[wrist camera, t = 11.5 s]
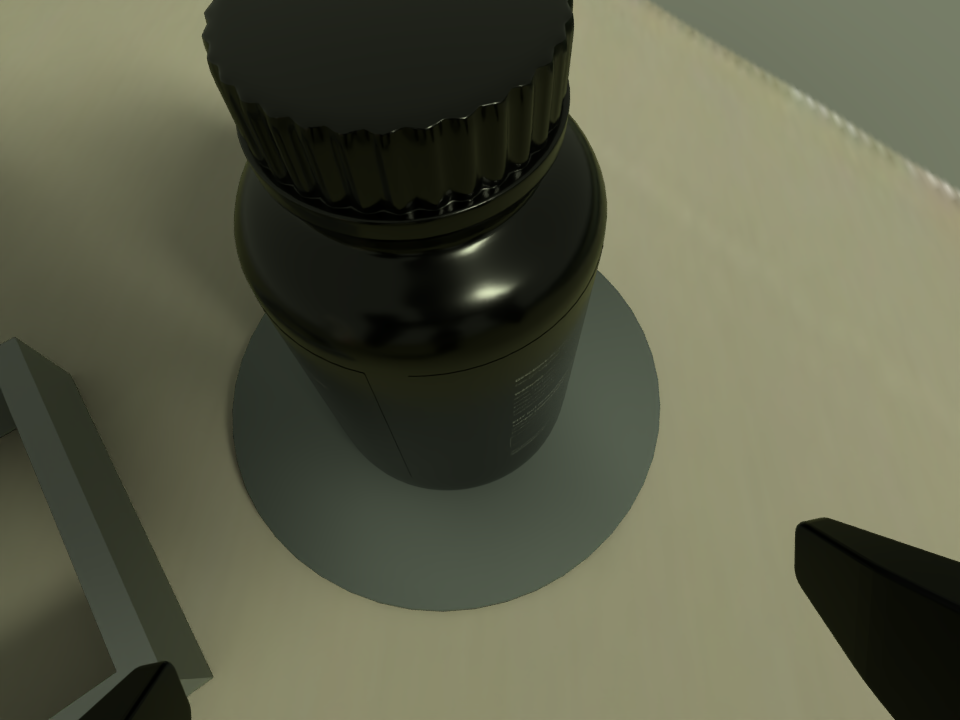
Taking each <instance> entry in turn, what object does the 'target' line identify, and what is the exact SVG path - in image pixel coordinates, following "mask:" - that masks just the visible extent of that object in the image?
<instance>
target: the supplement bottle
mask: <svg viewBox="0 0 960 720" xmlns="http://www.w3.org/2000/svg"><path fill="white" fill-rule="evenodd" d="M572 12H573V0H213V1H212V3H211V4H210V5H209V7H208V8H207V9H206V11H205V12H204V15H205V19H206V23H207V25H206V27H205V29H204V32H203V34H202V39H203V43H204V46H205V49H206V52H207V61H208V65H209V68H210V72H211V74H212V76H213V78H214V81H215V83H216V85H217V87H218V89H219V91H220V93H221V95H222V97H223V99H224V101H225V103H226V105H227V107H228V109H229V112H230V114H231V116H232V118H233V120H234V122H235V124H236V128H237V134H238V138H239V141H240V144H241V147H242V149H243V152H244V154H245V156H246V158H247V162H246V164H245V167H244V170H243V172H242V175H241V178H240V182H239V186H238V191H237V195H236V202H235V211H234V235H235V242H236V249H237V253H238V257H239V260H240V264H241V267H242V270H243V272H244V274H245V277H246V279H247V281H248V283H249V285H250V287H251V289H252V291H253V292H254V294H255V296H256V298H257V300H258V301H259V303H260V305H261V306H262V308H263V310H264V311H265V313H266V314H267V316H268V317H269V319H270V320H271V322H272V323H273V325H274V326H275V328H276V329H277V331H278V332H279V334H280V335H281V337H282V338H283V340H284V341H285V343H286V344H287V346H288V347H289V349H290V350H291V352H292V353H293V355H294V356H295V358H296V359H297V361H298V362H299V364H300V365H301V367H302V368H303V370H304V371H305V373H306V374H307V376H308V377H309V379H310V380H311V382H312V383H313V385H314V386H315V388H316V389H317V391H318V392H319V394H320V395H321V397H322V398H323V400H324V401H325V403H326V404H327V406H328V407H329V409H330V410H331V412H332V413H333V415H334V416H335V418H336V419H337V421H338V422H339V424H340V425H341V427H342V428H343V430H344V431H345V433H346V434H347V435H348V437H349V438H350V439H351V441H352V442H353V443H354V445H355V446H356V447H357V449H358V450H359V451H360V452H361V453H362V454H363V455H364V456H365V457H366V458H367V459H368V460H369V461H370V462H371V463H372V464H373V465H375V466H376V467H377V468H378V469H380V470H381V471H383V472H384V473H386V474H387V475H389V476H391V477H393V478H395V479H397V480H399V481H402V482H404V483H406V484H409V485H413V486H416V487H420V488H425V489H431V490H442V491H443V490H463V489H469V488H474V487H479V486H482V485H485V484H488V483H491V482H494V481H496V480H498V479H501V478H503V477H504V476H506V475H508V474H510V473H512V472H513V471H515V470H516V469H518V468H519V467H521V466H522V465H523V464H524V463H525V462H527V461H528V460H529V459H530V458H531V457H532V456H533V455H534V454H535V453H536V452H537V451H538V450H539V449H540V447H541V446H542V445H543V444H544V442H545V441H546V439H547V438H548V436H549V435H550V433H551V431H552V429H553V427H554V425H555V423H556V421H557V419H558V416H559V414H560V411H561V408H562V404H563V401H564V398H565V394H566V390H567V386H568V382H569V379H570V375H571V371H572V367H573V363H574V359H575V355H576V351H577V347H578V343H579V339H580V335H581V332H582V328H583V324H584V320H585V316H586V312H587V308H588V304H589V300H590V296H591V292H592V288H593V284H594V281H595V277H596V273H597V269H598V265H599V261H600V257H601V253H602V249H603V242H604V236H605V229H606V221H607V198H606V190H605V183H604V180H603V176H602V172H601V169H600V166H599V163H598V161H597V158H596V156H595V153H594V151H593V149H592V147H591V145H590V143H589V141H588V140H587V138H586V136H585V134H584V133H583V131H582V130H581V129H580V127H579V126H578V124H577V123H576V121H575V120H574V119H573V118H572V117H571V116H570V114H569V106H570V87H569V80H568V76H569V67H570V59H571V51H572V42H573V33H574V18H573V13H572Z"/></svg>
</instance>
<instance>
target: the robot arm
mask: <svg viewBox="0 0 960 720" xmlns="http://www.w3.org/2000/svg"><path fill="white" fill-rule="evenodd" d="M794 568H795V574H796V578H797V580H798V583H799V585H800V586H801V588H802V590H803V591H804V593H805V594H806V596H807V597H808V599H809V600H810V602H811V603H812V605H813V606H814V608H815V609H816V611H817V612H818V614H819V615H820V617H821V618H822V620H823V621H824V623H825V624H826V626H827V627H828V628H829V630H830V631H831V633H832V634H833V636H834V637H835V639H836V640H837V642H838V643H839V645H840V646H841V648H842V649H843V651H844V652H845V654H846V655H847V657H848V658H849V660H850V661H851V663H852V664H853V666H854V667H855V669H856V670H857V672H858V673H859V674H860V676H861V677H862V679H863V680H864V681H865V683H866V684H867V685H868V687H869V688H870V689H871V690H872V692H873V693H874V694H875V696H876V697H877V698H878V699H879V701H880V702H881V703H882V704H883V706H884V707H885V708H886V709H887V711H888V712H889V713H890V714H891V716H892V717H893V718H894V719H895V720H960V562H958V561H955V560H952V559H949V558H946V557H943V556H940V555H937V554H934V553H931V552H928V551H925V550H922V549H919V548H916V547H913V546H910V545H907V544H904V543H901V542H898V541H895V540H892V539H890V538H887V537H884V536H881V535H878V534H875V533H872V532H869V531H866V530H863V529H860V528H857V527H854V526H851V525H848V524H845V523H842V522H839V521H836V520H833V519H830V518H825V517H824V518H817V519H813V520H808V521H803V522H801V523H799V524H798V525H797V527H796V531H795V564H794ZM78 720H191V708H190V704H189V701H188V699H187V696H186V694H185V691H184V689H183V686H182V684H181V681H180V679H179V676H178V673H177V671H176V669H175V667H174V665H173V664H172V663H171V662H169V661H160V662H156V663H151V664H146V665H142V666H139V667H137V668H135V669H134V670H133V671H131V672H130V673H129V674H128V675H127V676H126V677H125V678H124V679H123V680H121V681H120V682H119V683H118V684H117V685H116V686H115V687H114V688H113V689H112V690H110V691H109V692H108V693H107V694H106V695H105V696H104V697H103V698H102V699H101V700H99V701H98V702H97V703H96V704H95V705H94V706H93V707H92V708H91V709H89V710H88V711H87V712H86V713H85V714H84V715H83V716H82V717H81V718H80V719H78Z"/></svg>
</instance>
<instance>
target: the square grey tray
mask: <svg viewBox="0 0 960 720" xmlns="http://www.w3.org/2000/svg"><path fill="white" fill-rule="evenodd" d="M16 428H17V429H18V432H19V434H20V437H21V439H22V442H23V444H24V446H25V449H26V451H27V454H28V456H29V459H30V461H31V464H32V466H33V468H34V471H35V473H36V476H37V478H38V481H39V483H40V486H41V488H42V491H43V493H44V495H45V498H46V500H47V503H48V505H49V508H50V510H51V513H52V515H53V517H54V520H55V522H56V525H57V527H58V530H59V532H60V535H61V537H62V539H63V542H64V544H65V547H66V549H67V552H68V554H69V557H70V559H71V561H72V564H73V566H74V569H75V571H76V574H77V576H78V579H79V581H80V583H81V586H82V588H83V591H84V593H85V596H86V598H87V601H88V603H89V605H90V608H91V610H92V613H93V615H94V618H95V620H96V623H97V625H98V627H99V630H100V632H101V635H102V637H103V640H104V642H105V645H106V647H107V649H108V652H109V654H110V657H111V659H112V662H113V664H114V667H115V669H116V671H117V672H116V673H114V674H113V675H111V676H110V677H108V678H107V679H106V680H104V681H103V682H101V683H100V684H98V685H97V686H96V687H94V688H93V689H91V690H90V691H88V692H87V693H86V694H84V695H83V696H81V697H80V698H78V699H77V700H76V701H74V702H73V703H71V704H70V705H68V706H67V707H65V708H64V709H63V710H61V711H60V712H58V713H57V714H55V715H54V716H53V717H51V718H50V719H48V720H78V719H80V718H81V717H82V716H83V715H84V714H85V713H86V712H87V711H88V710H89V709H91V708H92V707H93V706H94V705H95V704H96V703H97V702H98V701H99V700H101V699H102V698H103V697H104V696H105V695H106V694H107V693H108V692H109V691H110V690H112V689H113V688H114V687H115V686H116V685H117V684H118V683H119V682H120V681H121V680H123V679H124V678H125V677H126V676H127V675H128V674H129V673H130V672H131V671H133V670H134V669H135V668H137V667H139V666H142V665H146V664H151V663H156V662H160V661H169V662H171V663H172V664H173V665H174V667H175V669H176V671H177V673H178V676H179V679H180V681H181V684H182V686H183V689H184V691H185V694H186V696H189V695H190V694H191V693H193V692H194V691H195V690H197V689H198V688H200V687H201V686H202V685H204V684H205V683H206V682H208V681H209V680H210V679H212V678H213V675H212V673H211V671H210V669H209V667H208V665H207V663H206V661H205V658H204V656H203V654H202V652H201V650H200V648H199V646H198V644H197V642H196V639H195V637H194V635H193V633H192V631H191V629H190V627H189V625H188V622H187V620H186V618H185V616H184V614H183V612H182V610H181V608H180V606H179V603H178V601H177V599H176V597H175V595H174V593H173V591H172V589H171V587H170V584H169V582H168V580H167V578H166V576H165V574H164V572H163V570H162V568H161V565H160V563H159V561H158V559H157V557H156V555H155V553H154V551H153V548H152V546H151V544H150V542H149V540H148V538H147V536H146V534H145V532H144V529H143V527H142V525H141V523H140V521H139V519H138V517H137V515H136V513H135V510H134V508H133V506H132V504H131V502H130V500H129V498H128V496H127V493H126V491H125V489H124V487H123V485H122V483H121V481H120V479H119V477H118V474H117V472H116V470H115V468H114V466H113V464H112V462H111V460H110V458H109V455H108V453H107V451H106V449H105V447H104V445H103V443H102V441H101V439H100V436H99V434H98V432H97V430H96V428H95V426H94V424H93V422H92V419H91V417H90V415H89V413H88V411H87V409H86V407H85V405H84V403H83V400H82V398H81V396H80V394H79V392H78V390H77V388H76V386H75V384H74V381H73V379H72V377H71V375H70V374H69V373H67V372H66V371H64V370H63V369H61V368H60V367H58V366H57V365H55V364H54V363H52V362H51V361H50V360H48V359H47V358H45V357H44V356H42V355H41V354H39V353H38V352H36V351H35V350H33V349H32V348H30V347H29V346H28V345H26V344H25V343H23V342H22V341H20V340H19V339H17V338H16V337H13V338H12V339H10V340H8V341H6V342H4V343H2V344H0V437H2V436H4V435H5V434H7V433H9V432H11V431H13V430H14V429H16Z"/></svg>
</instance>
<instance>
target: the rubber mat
mask: <svg viewBox="0 0 960 720" xmlns="http://www.w3.org/2000/svg"><path fill="white" fill-rule="evenodd" d="M659 415H660V398H659V387H658V378H657V373H656V369H655V365H654V360H653V356H652V353H651V350H650V348H649V345H648V342H647V340H646V337H645V334H644V332H643V330H642V328H641V326H640V324H639V323H638V321H637V319H636V317H635V315H634V313H633V312H632V310H631V308H630V307H629V306H628V304H627V303H626V302H625V300H624V299H623V297H622V296H621V295H620V293H619V292H618V291H617V290H616V289H615V287H614V286H613V285H612V284H611V283H610V282H609V281H608V280H607V279H606V278H605V277H604V276H603V275H602V274H601V273H600V272H599V271H598V270H597V273H596V277H595V281H594V284H593V288H592V292H591V296H590V300H589V304H588V308H587V312H586V316H585V320H584V324H583V328H582V332H581V335H580V339H579V343H578V347H577V351H576V355H575V359H574V363H573V367H572V371H571V375H570V379H569V382H568V386H567V390H566V394H565V398H564V401H563V404H562V408H561V411H560V414H559V416H558V419H557V421H556V423H555V425H554V427H553V429H552V431H551V433H550V435H549V436H548V438H547V439H546V441H545V442H544V444H543V445H542V446H541V447H540V449H539V450H538V451H537V452H536V453H535V454H534V455H533V456H532V457H531V458H530V459H529V460H528V461H527V462H525V463H524V464H523V465H522V466H521V467H519V468H518V469H516V470H515V471H513V472H512V473H510V474H508V475H506V476H504V477H503V478H501V479H498V480H496V481H494V482H491V483H488V484H485V485H482V486H479V487H474V488H469V489H463V490H443V491H442V490H431V489H425V488H420V487H416V486H413V485H409V484H406V483H404V482H402V481H399V480H397V479H395V478H393V477H391V476H389V475H387V474H386V473H384V472H383V471H381V470H380V469H378V468H377V467H376V466H375V465H373V464H372V463H371V462H370V461H369V460H368V459H367V458H366V457H365V456H364V455H363V454H362V453H361V452H360V451H359V450H358V449H357V447H356V446H355V445H354V443H353V442H352V441H351V439H350V438H349V437H348V435H347V434H346V433H345V431H344V430H343V428H342V427H341V425H340V424H339V422H338V421H337V419H336V418H335V416H334V415H333V413H332V412H331V410H330V409H329V407H328V406H327V404H326V403H325V401H324V400H323V398H322V397H321V395H320V394H319V392H318V391H317V389H316V388H315V386H314V385H313V383H312V382H311V380H310V379H309V377H308V376H307V374H306V373H305V371H304V370H303V368H302V367H301V365H300V364H299V362H298V361H297V359H296V358H295V356H294V355H293V353H292V352H291V350H290V349H289V347H288V346H287V344H286V343H285V341H284V340H283V338H282V337H281V335H280V334H279V332H278V331H277V329H276V328H275V326H274V325H273V323H272V322H271V320H270V319H269V317H268V316H267V314H266V313H265V314H264V316H263V318H262V319H261V321H260V323H259V325H258V326H257V328H256V330H255V332H254V333H253V335H252V337H251V340H250V342H249V344H248V347H247V349H246V352H245V354H244V357H243V359H242V362H241V366H240V370H239V374H238V377H237V381H236V386H235V394H234V402H233V438H234V444H235V450H236V456H237V462H238V465H239V468H240V471H241V474H242V477H243V480H244V483H245V486H246V489H247V491H248V493H249V495H250V497H251V499H252V501H253V503H254V505H255V507H256V509H257V511H258V513H259V514H260V516H261V517H262V518H263V520H264V521H265V523H266V524H267V525H268V527H269V528H270V530H271V531H272V532H273V534H274V535H275V537H276V538H277V539H278V540H279V541H280V542H281V543H282V544H283V545H284V546H285V547H286V548H287V549H288V550H289V551H290V552H291V553H292V554H293V555H294V556H295V557H296V558H297V559H298V560H300V561H301V562H302V563H304V564H305V565H306V566H308V567H309V568H310V569H312V570H313V571H314V572H316V573H317V574H318V575H320V576H321V577H323V578H325V579H327V580H329V581H330V582H332V583H334V584H336V585H338V586H340V587H342V588H343V589H345V590H347V591H349V592H351V593H354V594H357V595H359V596H362V597H365V598H368V599H370V600H373V601H376V602H379V603H382V604H387V605H392V606H396V607H401V608H406V609H411V610H427V611H443V612H444V611H456V610H468V609H477V608H482V607H486V606H491V605H495V604H499V603H504V602H508V601H510V600H513V599H515V598H518V597H521V596H523V595H526V594H529V593H531V592H534V591H537V590H538V589H540V588H542V587H544V586H546V585H547V584H549V583H551V582H553V581H555V580H556V579H558V578H560V577H562V576H564V575H565V574H566V573H568V572H569V571H570V570H572V569H573V568H574V567H576V566H577V565H578V564H580V563H581V562H582V561H584V560H585V559H586V558H588V557H589V556H590V555H591V554H592V553H593V552H594V551H595V550H596V549H597V548H598V547H599V546H600V545H601V544H602V543H603V542H604V541H605V540H606V539H607V538H608V537H609V536H610V535H611V534H612V533H613V531H614V530H615V529H616V527H617V526H618V525H619V523H620V522H621V521H622V519H623V518H624V517H625V515H626V514H627V512H628V511H629V510H630V508H631V506H632V504H633V503H634V501H635V499H636V497H637V495H638V493H639V491H640V490H641V488H642V486H643V484H644V481H645V479H646V476H647V473H648V470H649V468H650V465H651V462H652V459H653V456H654V451H655V446H656V441H657V436H658V431H659Z"/></svg>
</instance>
